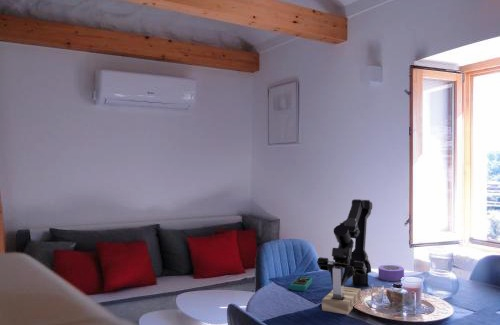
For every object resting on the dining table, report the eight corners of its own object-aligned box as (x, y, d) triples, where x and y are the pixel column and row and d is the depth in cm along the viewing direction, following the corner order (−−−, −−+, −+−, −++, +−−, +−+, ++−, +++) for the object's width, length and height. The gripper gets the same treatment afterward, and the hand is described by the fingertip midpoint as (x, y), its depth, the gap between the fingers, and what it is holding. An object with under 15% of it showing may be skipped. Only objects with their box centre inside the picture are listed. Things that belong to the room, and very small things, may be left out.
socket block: (337, 295, 179) (337, 285, 179) (361, 298, 175) (360, 288, 174) (321, 310, 162) (321, 299, 162) (347, 314, 157) (347, 303, 157)
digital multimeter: (312, 283, 199) (312, 276, 199) (305, 292, 185) (305, 285, 185) (297, 281, 202) (297, 275, 202) (289, 290, 188) (289, 284, 188)
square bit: (335, 299, 166) (335, 266, 166) (343, 300, 164) (343, 267, 164) (333, 301, 163) (332, 268, 163) (341, 302, 162) (340, 269, 162)
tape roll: (377, 280, 201) (377, 269, 201) (379, 273, 212) (379, 263, 212) (403, 282, 196) (403, 271, 196) (404, 275, 207) (404, 265, 207)
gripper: (317, 237, 172) (308, 271, 162) (364, 241, 163) (357, 277, 153) (324, 252, 179) (316, 285, 169) (369, 256, 170) (362, 292, 160)
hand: (337, 284), depth 163 cm, fingers closed on square bit, 3 cm apart
